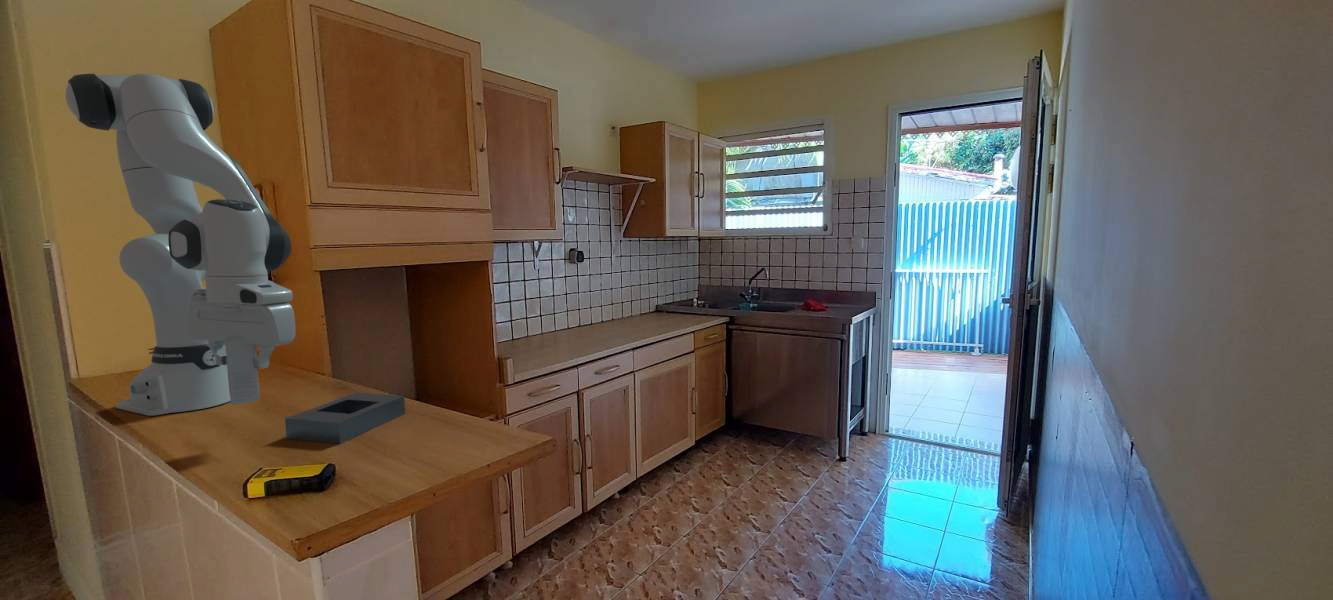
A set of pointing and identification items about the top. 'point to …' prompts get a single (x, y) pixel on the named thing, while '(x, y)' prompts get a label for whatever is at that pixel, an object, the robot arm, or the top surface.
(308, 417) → the grey slotted block
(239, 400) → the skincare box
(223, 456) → the top surface
